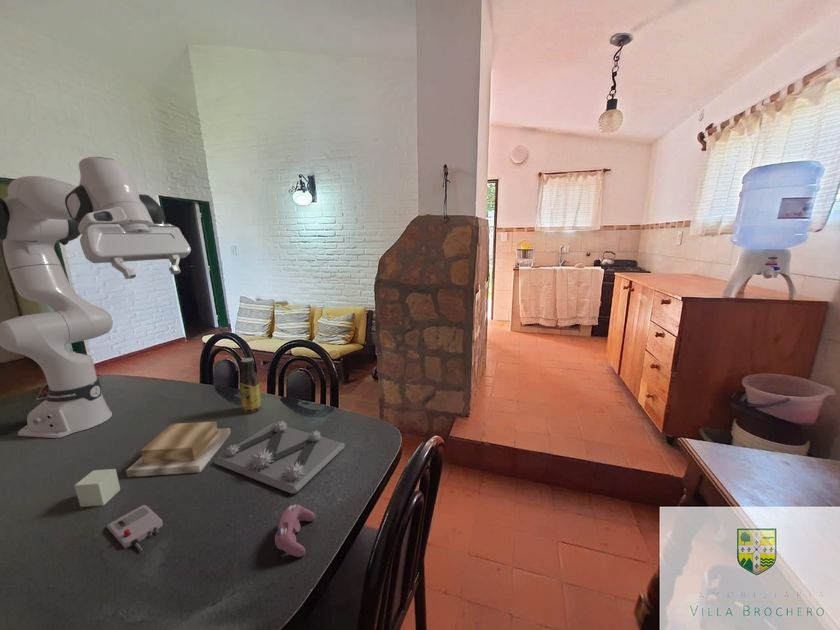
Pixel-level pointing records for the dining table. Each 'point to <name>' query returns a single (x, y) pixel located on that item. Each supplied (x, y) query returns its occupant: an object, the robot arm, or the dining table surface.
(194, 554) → the dining table surface
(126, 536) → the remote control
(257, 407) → the sauce bottle
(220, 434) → the stacking base
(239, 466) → the decorative plate
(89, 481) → the sage block
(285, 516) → the video game controller
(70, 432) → the robot arm
